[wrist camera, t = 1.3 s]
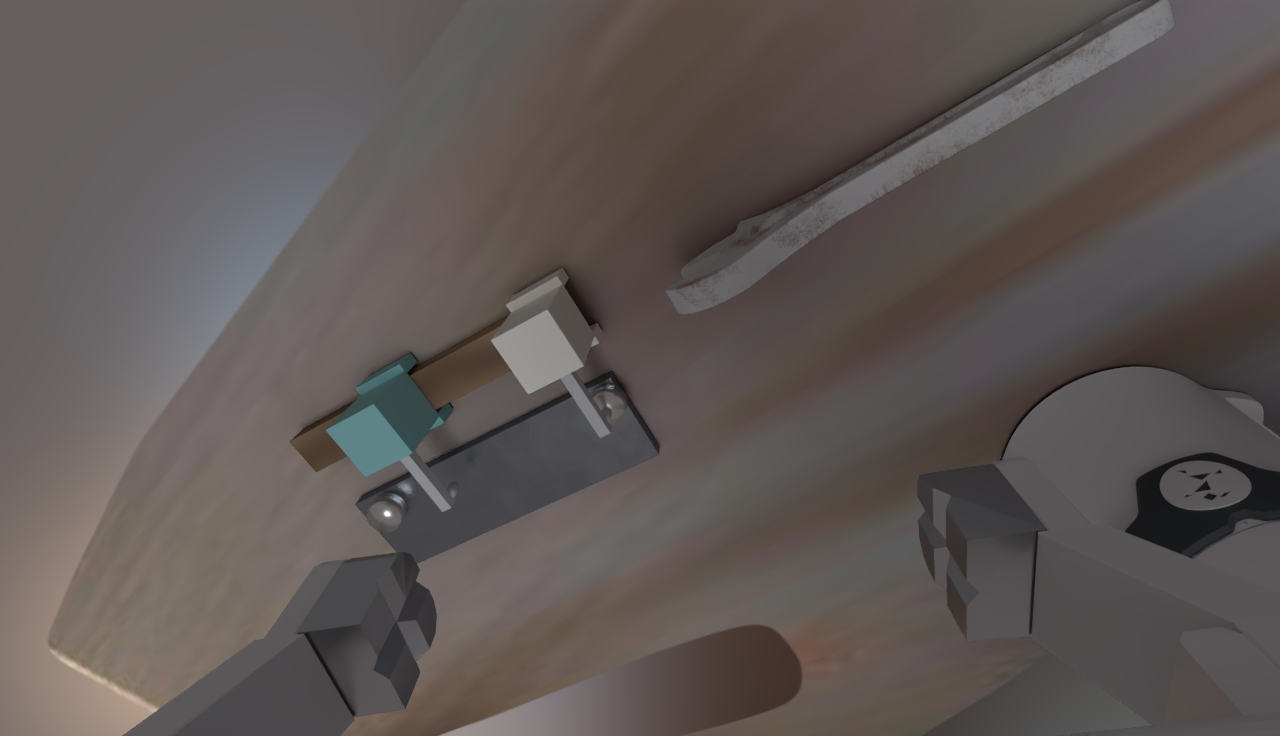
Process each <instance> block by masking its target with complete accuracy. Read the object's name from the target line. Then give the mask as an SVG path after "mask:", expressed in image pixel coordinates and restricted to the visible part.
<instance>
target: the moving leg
mask: <svg viewBox="0 0 1280 736" xmlns="http://www.w3.org/2000/svg"><path fill="white" fill-rule="evenodd" d="M416 363H417V361H416V359H415V358H414V357H413V355H412V354H411V353H409V354H407V355H406V356H404V357H402V358H400V359H398V360H397V361H395V362H393V363H391V364H390V365H388V366H386V367H384V368H382V369H381V370H379V371H377V372H375V373H373V374H372V375H370V376H368V377H367V378H366V379H365V380H364V381H363V382H362V383H361V384H360V385H359V386H357V387H356V388H355V389H356V390H357V391H358V393H359V394H360V395H361V396H360V397H359V398H358V399H357V400H356V401H354V402H353V403H352V404H351V405H350V406H349V407H348V408H347V409H346V410H345V411H344V412H343V413H342V414H341V415H340V416H339V417H338V418H337V419H336V420H335V421H334V422H333V423H332V424H331V425H330V426H329V427H328V428H327V429H326V431H327V432H328V434H329V435H330V436H331V437H332V438H333V440H334V441H335V442H336V443H337V444H338V445H339V447H340V448H341V449H342V450H343V451H344V453H345V454H346V455H347V456H348V457H349V458H350V460H351V461H352V462H353V463H354V464H355V465H356V467H357V468H358V469H359V470H360V471H361V473H362V474H363V475H364V476H365V477H367V476H369V475H371V474H373V473H375V472H377V471H378V470H380V469H382V468H384V467H386V466H388V465H390V464H392V463H394V462H396V461H398V460H400V461H401V462H402V463H403V464H404V466H405V467H406V468H407V469H408V471H409V472H410V473H411V474H412V475H413V477H414V478H415V479H416V480H417V482H418V483H419V484H420V485H421V486H422V488H423V489H424V490H425V491H426V493H427V494H428V495H429V496H430V498H431V499H432V500H433V501H434V502H435V504H436V505H437V506H438V507H439V509H440V510H441V511H442V512H444V511H446V510H448V509H450V508H452V506H453V504H454V502H455V500H454V498H455V496H456V494H457V492H458V491H459V489H460V485H459V483H458V482H455V481H453V482H451V483H450V484H449V486H448V487H447V489H445V488H444V486H443V485H442V484H441V483H440V481H439V480H438V479H437V478H436V476H435V475H434V474H433V473H432V471H431V470H430V469H429V468H428V466H427V465H426V464H425V463H424V461H423V460H422V459H421V458H420V456H419V455H418V454H417V453H416V451H415V449H416V448H417V447H418V445H419V444H420V442H421V441H422V440H423V438H424V437H425V435H426V434H427V433H428V431H430V430H431V429H433V428H435V427H437V426H439V425H441V424H443V423H445V421H446V420H447V418H448V417H449V415H450V414H451V412H452V411H453V409H452V407H451V406H450V405H449V403H448V404H446V405H444V406H442V407H440V408H438V409H436V410H435V409H434V408H433V406H432V405H431V404H430V402H429V401H428V400H427V398H426V397H425V396H424V395H423V393H422V392H421V391H420V389H419V388H418V387H417V385H416V384H415V383H414V381H413V380H412V379H411V378H410V376H409V375H408V374H407V372H408V371H409V370H410V369H411V368H412V367H413V366H414V365H415V364H416Z"/></svg>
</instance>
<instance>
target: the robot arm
mask: <svg viewBox="0 0 1280 736" xmlns="http://www.w3.org/2000/svg"><path fill="white" fill-rule="evenodd" d="M1263 418H1264V410H1263V407H1262V405H1261V404H1260V403H1259V402H1257V401H1256V400H1255V399H1253V398H1252V397H1251V396H1249V395H1247V394H1244V393H1240V392H1234V391H1224V390H1211V389H1208V388H1205V387H1203V386H1201V385H1199V384H1197V383H1195V382H1194V381H1192V380H1190V379H1188V378H1186V377H1184V376H1182V375H1180V374H1177V373H1175V372H1172V371H1168V370H1164V369H1159V368H1152V367H1123V368H1116V369H1111V370H1106V371H1102V372H1098V373H1095V374H1092V375H1089V376H1086V377H1083V378H1081V379H1079V380H1076V381H1074V382H1072V383H1070V384H1068V385H1066V386H1064V387H1063V388H1061V389H1059V390H1058V391H1056V392H1054V393H1053V394H1051V395H1050V396H1049V397H1047V398H1046V399H1045V400H1043V401H1042V402H1041V403H1040V404H1038V405H1037V406H1036V407H1035V408H1034V409H1033V410H1032V411H1031V412H1030V413H1029V414H1028V415H1027V416H1026V417H1025V419H1024V420H1023V421H1022V422H1021V424H1020V425H1019V426H1018V428H1017V429H1016V431H1015V432H1014V434H1013V435H1012V437H1011V439H1010V441H1009V443H1008V446H1007V448H1006V451H1005V453H1004V456H1003V459H1002V460H1001V461H995V462H990V463H988V464H985V465H978V466H972V467H965V468H959V469H952V470H946V471H939V472H933V473H926V474H920V475H919V477H918V481H917V497H918V499H919V500H920V502H921V504H922V506H923V507H924V509H925V512H924V514H923V515H922V516H921V517H920V519H919V520H918V523H919V538H920V543H921V547H922V552H923V556H924V559H925V561H926V564H927V567H928V569H929V571H930V573H931V575H932V577H933V579H934V581H935V583H937V584H939V585H941V586H942V587H944V588H946V589H947V606H948V608H949V610H950V611H951V613H952V615H953V617H954V619H955V621H956V623H957V625H958V626H959V628H960V630H961V632H962V634H963V636H964V638H965V639H966V641H967V642H972V641H983V640H993V639H1004V638H1015V637H1026V636H1031V639H1032V640H1034V641H1035V642H1036V643H1038V644H1039V645H1041V646H1042V647H1043V648H1045V649H1046V650H1048V651H1049V652H1050V653H1052V654H1053V655H1055V656H1056V657H1058V658H1059V659H1060V660H1062V661H1063V662H1065V663H1066V664H1068V665H1069V666H1070V667H1072V668H1073V669H1074V670H1076V671H1077V672H1079V673H1080V674H1081V675H1083V676H1084V677H1086V678H1087V679H1089V680H1090V681H1091V682H1093V683H1094V684H1096V685H1097V686H1099V687H1100V688H1101V689H1103V690H1104V691H1105V692H1107V693H1108V694H1110V695H1111V696H1112V697H1114V698H1115V699H1117V700H1118V701H1119V702H1121V703H1122V704H1124V705H1125V706H1127V707H1128V708H1129V709H1131V710H1132V711H1134V712H1135V713H1136V714H1138V715H1139V716H1141V717H1142V718H1143V719H1145V720H1146V721H1148V722H1149V723H1150V724H1152V725H1153V726H1143V727H1133V728H1124V729H1114V730H1104V731H1095V732H1085V733H1075V734H1065V735H1055V736H1280V437H1279V436H1278V435H1276V434H1275V433H1274V432H1272V431H1271V430H1270V429H1268V428H1267V427H1265V426H1264V425H1263ZM419 571H420V569H419V567H418V565H417V563H416V562H415V560H414V558H413V556H412V555H411V554H409V553H406V552H398V553H390V554H383V555H375V556H367V557H359V558H351V559H349V560H338V561H331V562H324V563H321V564H319V565H317V566H315V567H314V568H313V569H312V571H311V572H310V574H309V575H308V576H307V578H306V579H305V581H304V582H303V584H302V585H301V586H300V588H299V589H298V591H297V592H296V594H295V595H294V596H293V598H292V599H291V601H290V602H289V604H288V605H287V606H286V608H285V609H284V611H283V612H282V614H281V615H280V616H279V618H278V619H277V621H276V622H275V624H274V625H273V626H272V628H271V629H270V631H269V632H268V634H267V635H266V636H265V638H264V639H260V640H254V641H253V642H252V643H250V644H249V645H247V646H246V647H245V648H243V649H242V650H241V651H239V652H238V653H236V654H235V655H234V656H232V657H231V658H229V659H228V660H227V661H225V662H224V663H222V664H221V665H220V666H218V667H217V668H216V669H214V670H213V671H211V672H210V673H209V674H207V675H206V676H204V677H203V678H202V679H200V680H199V681H198V682H196V683H195V684H193V685H192V686H191V687H189V688H188V689H186V690H185V691H184V692H182V693H181V694H180V695H178V696H177V697H175V698H174V699H173V700H171V701H170V702H168V703H167V704H166V705H164V706H163V707H162V708H160V709H159V710H157V711H156V712H155V713H153V714H152V715H150V716H149V717H148V718H147V719H145V720H143V721H142V722H141V723H139V724H138V725H137V726H135V727H134V728H132V729H131V730H130V731H128V732H127V733H126V734H124V735H123V736H341V734H342V733H343V732H344V731H345V730H346V729H347V728H348V727H349V726H350V724H351V723H352V722H353V721H354V718H353V717H358V716H365V715H372V714H378V713H385V712H391V711H398V710H405V709H406V707H407V704H408V702H409V699H410V697H411V694H412V692H413V689H414V687H415V684H416V682H417V679H418V677H419V674H420V670H419V668H418V665H417V663H416V661H417V660H418V659H419V658H420V657H421V656H422V655H424V654H425V653H426V652H427V651H428V650H429V649H430V647H431V644H432V641H433V638H434V636H435V632H436V619H437V614H436V609H435V603H434V600H433V598H432V595H431V593H430V591H429V590H428V589H427V588H425V587H424V586H422V585H421V584H419V583H418V582H416V579H417V576H418V574H419Z"/></svg>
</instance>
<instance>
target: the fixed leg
mask: <svg viewBox="0 0 1280 736" xmlns="http://www.w3.org/2000/svg"><path fill="white" fill-rule="evenodd" d="M568 279H569V277H568V276H567V274H566V272H565V271H564V269H563V268H561V269H559V270H558V271H556V272H554V273H552V274H550V275H549V276H547V277H545V278H543V279H542V280H540V281H538V282H536V283H534V284H533V285H531V286H529V287H527V288H525V289H524V290H522V291H520V292H518V293H516V294H515V295H513V296H512V298H511V299H510V300H509V301H508V303H507V304H506V306H507V307H508V309H509V310H510V312H511V313H510V315H509V316H508V317H507V319H506V320H505V321H504V323H503V324H502V326H501V327H500V328H499V330H498V331H497V332H496V334H495V335H494V336H493V338H492V339H491V342H492V343H493V345H494V346H495V347H496V349H497V350H498V352H499V353H500V355H501V356H502V357H503V359H504V360H505V362H506V363H507V365H508V366H509V368H510V369H511V370H512V372H513V373H514V375H515V376H516V378H517V379H518V380H519V382H520V383H521V385H522V386H523V388H524V389H525V390H526V392H527V393H528V394H530V393H532V392H534V391H536V390H538V389H540V388H542V387H544V386H546V385H548V384H550V383H552V382H554V381H556V380H558V379H561V381H562V382H563V383H564V385H565V386H566V388H567V389H568V391H569V392H570V394H571V395H572V397H573V398H574V400H575V401H576V403H577V404H578V406H579V407H580V409H581V410H582V412H583V413H584V415H585V416H586V418H587V419H588V421H589V422H590V424H591V425H592V427H593V428H594V430H595V431H596V433H597V434H598V436H599V437H600V438H601V437H603V436H605V435H608V434H610V433H611V428H612V426H611V425H610V421H611V416H612V411H611V410H610V409H609V408H603V409H602V410H600V408H599V407H598V405H597V404H596V402H595V401H594V399H593V398H592V396H591V395H590V393H589V391H588V390H587V388H586V387H585V385H584V384H583V382H582V381H581V379H580V378H579V376H578V375H577V373H576V372H575V371H576V370H578V369H579V368H581V367H583V366H584V365H585V362H586V359H587V356H588V353H589V351H590V348H591V347H593V346H595V345H597V344H599V343H600V339H601V336H602V333H603V332H602V330H601V328H600V327H599V325H598V324H597V323H595V324H593V325H591V326H589V325H588V323H587V322H586V320H585V319H584V317H583V316H582V314H581V312H580V311H579V309H578V308H577V306H576V304H575V303H574V301H573V300H572V298H571V296H570V295H569V293H568V292H567V290H566V289H565V287H564V286H565V284H566V282H567V281H568Z"/></svg>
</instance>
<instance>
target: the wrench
mask: <svg viewBox="0 0 1280 736" xmlns="http://www.w3.org/2000/svg"><path fill="white" fill-rule="evenodd" d="M1174 25H1175V24H1174V20H1173V15H1172V11H1171V7H1170V3H1169V0H1140V1H1137V2H1135V3H1133V4H1131V5H1129V6H1127V7H1125V8H1123V9H1122V10H1120V11H1118V12H1116V13H1114V14H1113V15H1111V16H1109V17H1107V18H1105V19H1104V20H1102V21H1100V22H1098V23H1096V24H1095V25H1093V26H1091V27H1090V28H1088V29H1086V30H1084V31H1083V32H1081V33H1079V34H1078V35H1076V36H1074V37H1073V38H1071V39H1069V40H1068V41H1066V42H1064V43H1062V44H1061V45H1059V46H1057V47H1056V48H1054V49H1052V50H1051V51H1049V52H1047V53H1046V54H1044V55H1042V56H1041V57H1039V58H1037V59H1036V60H1034V61H1032V62H1030V63H1029V64H1027V65H1025V66H1024V67H1022V68H1020V69H1019V70H1017V71H1015V72H1014V73H1012V74H1010V75H1008V76H1007V77H1005V78H1003V79H1002V80H1000V81H998V82H997V83H995V84H993V85H991V86H990V87H988V88H986V89H985V90H983V91H981V92H979V93H978V94H976V95H974V96H973V97H971V98H969V99H968V100H966V101H964V102H962V103H961V104H959V105H957V106H956V107H954V108H952V109H951V110H949V111H947V112H946V113H944V114H942V115H940V116H939V117H937V118H935V119H934V120H932V121H930V122H929V123H927V124H925V125H923V126H922V127H920V128H918V129H917V130H915V131H913V132H912V133H910V134H908V135H907V136H905V137H903V138H901V139H900V140H898V141H896V142H895V143H893V144H891V145H890V146H888V147H886V148H885V149H883V150H881V151H879V152H878V153H876V154H874V155H873V156H871V157H869V158H868V159H866V160H864V161H863V162H861V163H859V164H857V165H856V166H854V167H852V168H850V169H849V170H847V171H845V172H844V173H842V174H840V175H838V176H837V177H835V178H833V179H832V180H830V181H828V182H826V183H825V184H823V185H821V186H820V187H818V188H816V189H814V190H812V191H810V192H808V193H806V194H804V195H802V196H800V197H798V198H796V199H794V200H792V201H790V202H788V203H786V204H783V205H781V206H779V207H777V208H774V209H772V210H770V211H767V212H765V213H763V214H761V215H758V216H755V217H752V218H748V219H745V220H742V221H740V222H739V224H738V227H737V229H736V231H735V233H733V234H731V235H730V236H728V237H726V238H725V239H723V240H721V241H719V242H718V243H716V244H714V245H713V246H711V247H710V248H708V249H707V250H706V251H704V252H703V253H701V254H700V255H698V256H697V257H695V258H694V259H693V260H691V261H690V262H689V263H687V264H686V265H685V266H684V267H683V268H682V271H681V275H682V277H683V278H684V279H682V280H680V281H678V282H676V283H674V284H671V285H669V286H667V287H666V293H667V294H668V296H669V298H670V300H671V301H672V303H673V305H674V306H675V308H676V310H677V311H678V313H680V314H691V313H696V312H700V311H703V310H705V309H708V308H711V307H714V306H716V305H719V304H721V303H723V302H725V301H727V300H729V299H730V298H732V297H734V296H736V295H738V294H740V293H741V292H743V291H744V290H746V289H748V288H749V287H751V286H752V285H754V284H755V283H756V282H757V281H759V280H760V279H761V278H762V277H764V276H765V275H766V274H767V273H769V272H770V271H771V270H773V269H774V268H775V267H776V266H778V265H779V264H780V263H782V262H783V261H784V260H785V259H787V258H788V257H789V256H791V255H792V254H793V253H795V252H796V251H797V250H799V249H800V248H801V247H803V246H804V245H806V244H807V243H808V242H810V241H811V240H813V239H814V238H816V237H817V236H818V235H820V234H821V233H823V232H824V231H825V230H827V229H828V228H830V227H831V226H833V225H834V224H835V223H837V222H838V221H840V220H841V219H843V218H845V217H846V216H848V215H850V214H852V213H853V212H855V211H857V210H859V209H860V208H862V207H864V206H866V205H867V204H869V203H871V202H873V201H874V200H876V199H878V198H880V197H881V196H883V195H885V194H887V193H888V192H890V191H892V190H894V189H895V188H897V187H899V186H901V185H902V184H904V183H906V182H908V181H909V180H911V179H913V178H915V177H916V176H918V175H920V174H921V173H923V172H925V171H927V170H928V169H930V168H932V167H934V166H935V165H937V164H939V163H941V162H942V161H944V160H946V159H948V158H949V157H951V156H953V155H955V154H956V153H958V152H960V151H962V150H963V149H965V148H967V147H969V146H970V145H972V144H974V143H976V142H977V141H979V140H981V139H983V138H984V137H986V136H988V135H990V134H991V133H993V132H995V131H997V130H998V129H1000V128H1002V127H1004V126H1005V125H1007V124H1009V123H1011V122H1012V121H1014V120H1016V119H1018V118H1019V117H1021V116H1023V115H1025V114H1026V113H1028V112H1030V111H1032V110H1033V109H1035V108H1037V107H1039V106H1040V105H1042V104H1044V103H1046V102H1047V101H1049V100H1051V99H1053V98H1054V97H1056V96H1058V95H1060V94H1061V93H1063V92H1065V91H1067V90H1068V89H1070V88H1072V87H1074V86H1075V85H1077V84H1079V83H1081V82H1082V81H1084V80H1086V79H1088V78H1089V77H1091V76H1093V75H1095V74H1096V73H1098V72H1100V71H1102V70H1103V69H1105V68H1107V67H1109V66H1110V65H1112V64H1114V63H1116V62H1117V61H1119V60H1121V59H1123V58H1124V57H1126V56H1128V55H1130V54H1131V53H1133V52H1135V51H1137V50H1138V49H1140V48H1142V47H1144V46H1145V45H1147V44H1149V43H1151V42H1152V41H1154V40H1156V39H1158V38H1159V37H1161V36H1163V35H1164V34H1166V33H1167V32H1168V31H1170V30H1171V29H1172V28H1173V27H1174Z"/></svg>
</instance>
